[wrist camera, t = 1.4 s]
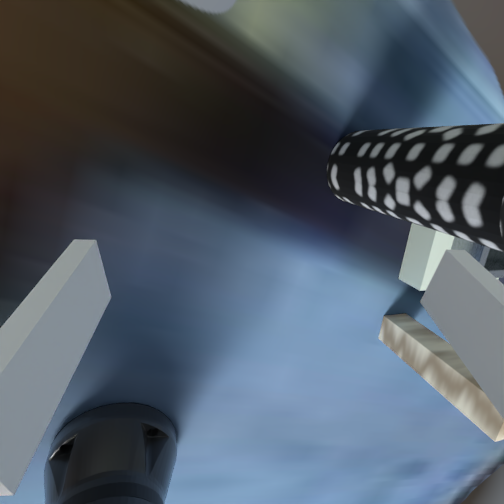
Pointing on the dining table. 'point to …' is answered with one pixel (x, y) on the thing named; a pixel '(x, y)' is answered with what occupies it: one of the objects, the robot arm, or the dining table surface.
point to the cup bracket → (482, 255)
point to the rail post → (441, 370)
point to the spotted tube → (427, 177)
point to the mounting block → (423, 255)
